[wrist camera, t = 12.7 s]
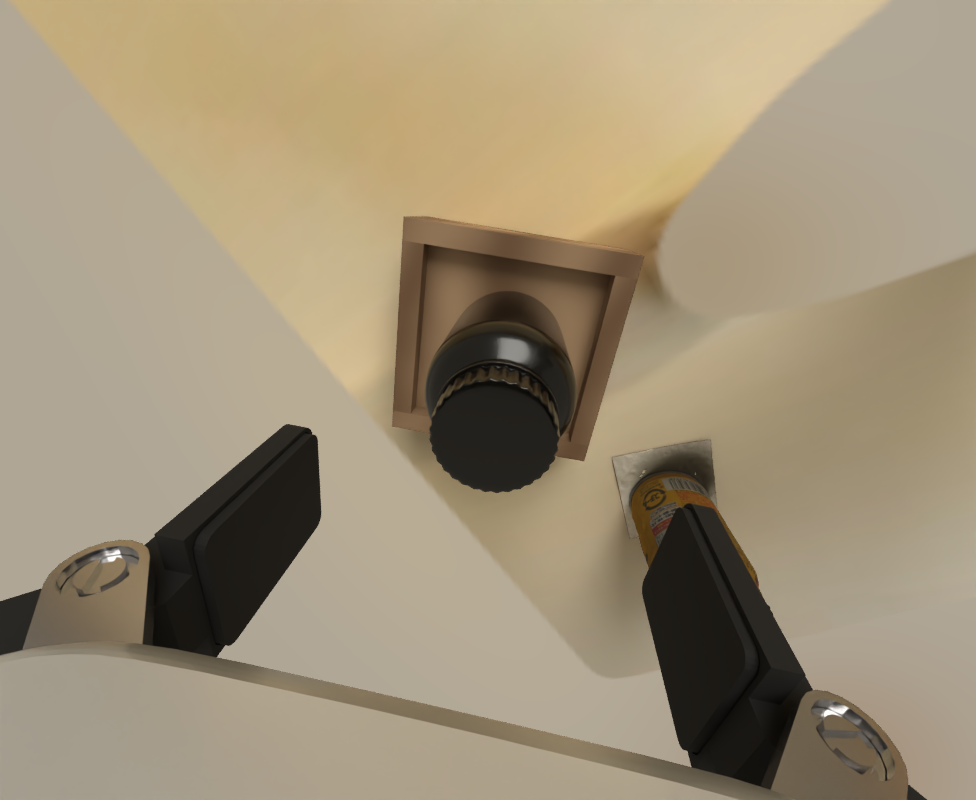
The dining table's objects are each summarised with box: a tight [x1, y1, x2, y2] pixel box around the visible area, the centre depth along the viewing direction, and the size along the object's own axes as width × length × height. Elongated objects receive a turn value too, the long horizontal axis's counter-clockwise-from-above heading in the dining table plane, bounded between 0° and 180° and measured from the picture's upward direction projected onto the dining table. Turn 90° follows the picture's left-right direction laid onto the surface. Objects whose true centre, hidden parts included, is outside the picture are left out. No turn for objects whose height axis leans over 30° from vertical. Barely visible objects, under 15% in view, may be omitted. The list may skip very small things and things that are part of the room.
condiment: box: [612, 440, 773, 615], centre depth 28 cm, size 7×8×12 cm
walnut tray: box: [392, 217, 644, 461], centre depth 27 cm, size 13×13×5 cm
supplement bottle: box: [424, 291, 577, 493], centre depth 20 cm, size 7×7×12 cm
